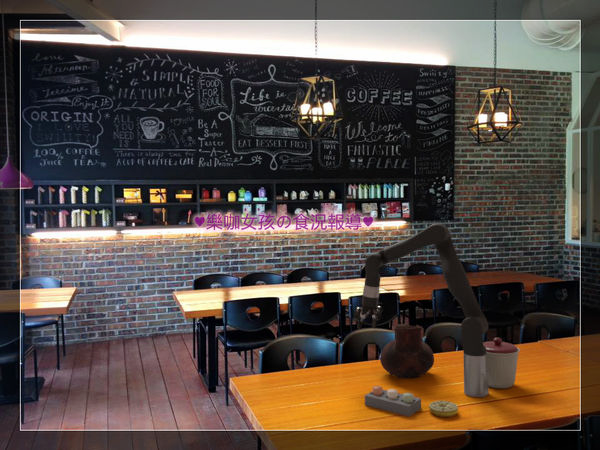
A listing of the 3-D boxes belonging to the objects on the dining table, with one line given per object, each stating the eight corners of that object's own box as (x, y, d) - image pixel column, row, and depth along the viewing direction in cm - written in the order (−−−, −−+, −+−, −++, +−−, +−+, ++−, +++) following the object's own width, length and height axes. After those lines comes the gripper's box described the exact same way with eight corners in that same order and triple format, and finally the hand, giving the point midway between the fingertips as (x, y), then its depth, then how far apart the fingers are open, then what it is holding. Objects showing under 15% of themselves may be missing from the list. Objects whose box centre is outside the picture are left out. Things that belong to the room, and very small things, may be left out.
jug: (430, 367, 261) (429, 317, 260) (438, 384, 236) (437, 329, 235) (379, 366, 263) (378, 317, 263) (382, 384, 238) (380, 329, 238)
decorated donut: (444, 406, 211) (444, 396, 211) (463, 415, 202) (463, 405, 202) (423, 411, 206) (423, 401, 206) (443, 421, 197) (442, 411, 197)
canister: (524, 393, 222) (523, 343, 222) (479, 391, 226) (478, 342, 225) (515, 378, 240) (515, 333, 239) (474, 377, 244) (473, 332, 243)
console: (421, 408, 209) (421, 398, 209) (409, 416, 201) (408, 406, 201) (377, 397, 222) (377, 388, 222) (364, 405, 214) (364, 395, 214)
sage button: (415, 404, 207) (415, 394, 207) (410, 407, 204) (410, 397, 204) (406, 402, 210) (406, 392, 210) (401, 405, 207) (401, 395, 207)
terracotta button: (384, 397, 216) (384, 387, 216) (379, 400, 213) (379, 389, 213) (376, 395, 219) (375, 385, 219) (370, 398, 216) (370, 387, 216)
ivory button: (399, 400, 212) (399, 390, 212) (394, 403, 209) (394, 393, 209) (390, 398, 214) (390, 388, 214) (385, 401, 211) (385, 391, 211)
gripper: (363, 297, 240) (359, 332, 242) (387, 296, 247) (383, 329, 249) (353, 293, 246) (349, 326, 248) (377, 292, 253) (373, 324, 255)
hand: (366, 328), depth 248 cm, fingers open, 8 cm apart
